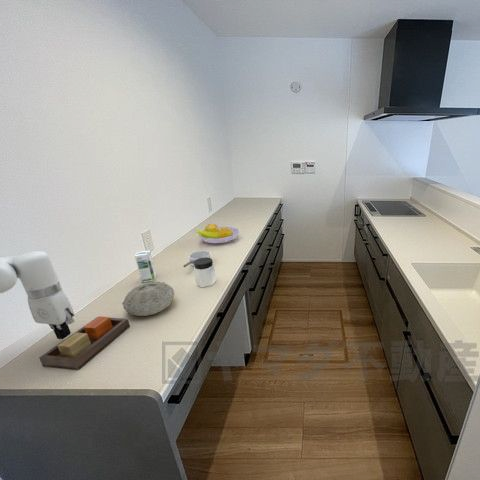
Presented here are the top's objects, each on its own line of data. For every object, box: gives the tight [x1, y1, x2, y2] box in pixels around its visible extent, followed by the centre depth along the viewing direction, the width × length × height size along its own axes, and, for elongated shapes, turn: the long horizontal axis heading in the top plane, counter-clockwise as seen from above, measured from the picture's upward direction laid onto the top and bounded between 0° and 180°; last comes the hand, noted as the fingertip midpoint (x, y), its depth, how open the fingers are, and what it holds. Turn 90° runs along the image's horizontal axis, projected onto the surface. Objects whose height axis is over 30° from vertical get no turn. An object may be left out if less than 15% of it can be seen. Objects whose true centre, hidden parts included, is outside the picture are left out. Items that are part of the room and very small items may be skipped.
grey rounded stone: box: [122, 281, 175, 317], centre depth 107 cm, size 18×18×10 cm
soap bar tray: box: [38, 315, 131, 371], centre depth 88 cm, size 12×20×6 cm, turn 174°
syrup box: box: [134, 250, 157, 283], centre depth 128 cm, size 6×6×14 cm
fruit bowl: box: [194, 223, 240, 244], centre depth 181 cm, size 28×27×11 cm
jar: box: [193, 257, 217, 288], centre depth 126 cm, size 9×8×12 cm
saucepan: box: [182, 250, 212, 268], centre depth 144 cm, size 12×20×6 cm, turn 173°
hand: (64, 336), depth 89 cm, fingers closed
